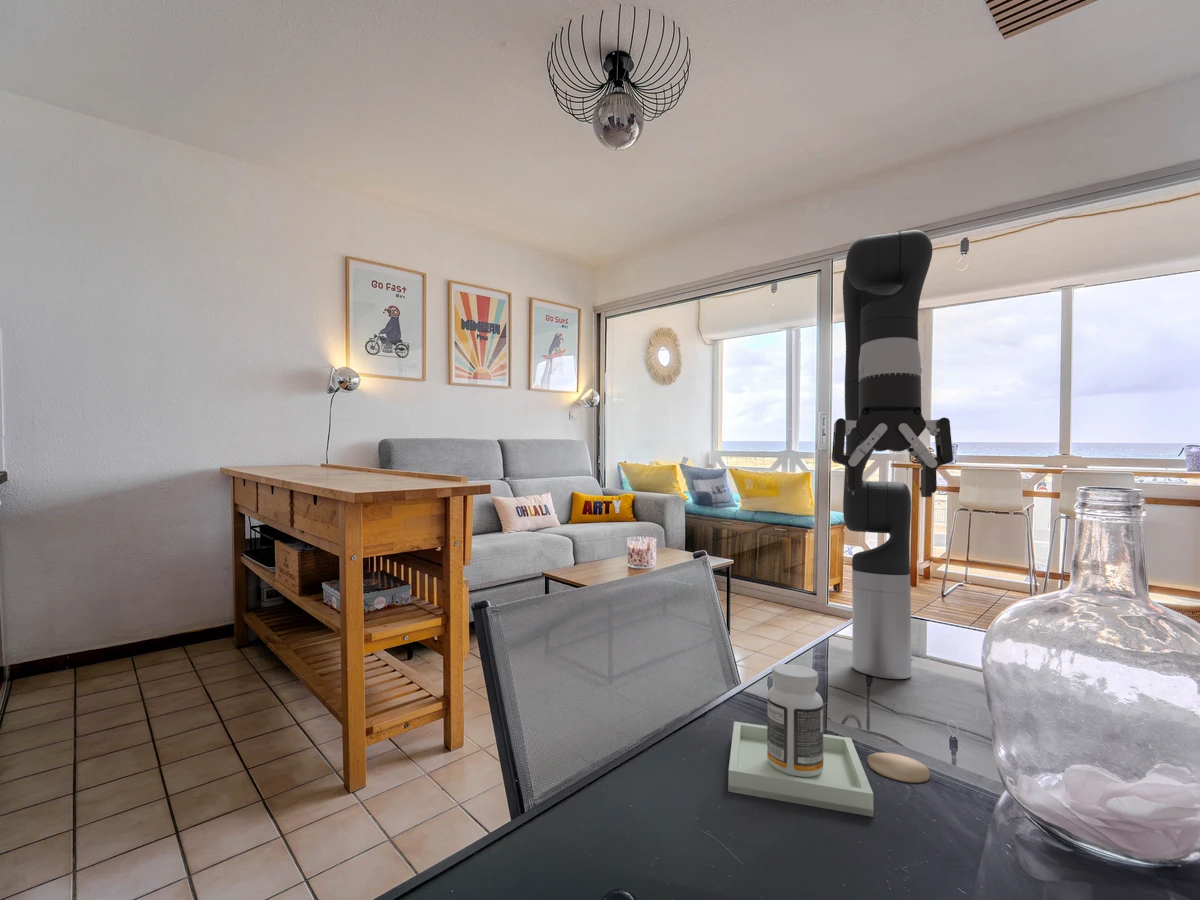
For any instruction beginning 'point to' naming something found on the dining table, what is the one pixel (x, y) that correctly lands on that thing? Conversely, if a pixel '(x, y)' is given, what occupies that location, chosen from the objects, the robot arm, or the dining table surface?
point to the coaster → (898, 767)
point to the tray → (829, 789)
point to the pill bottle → (795, 721)
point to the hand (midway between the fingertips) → (890, 496)
